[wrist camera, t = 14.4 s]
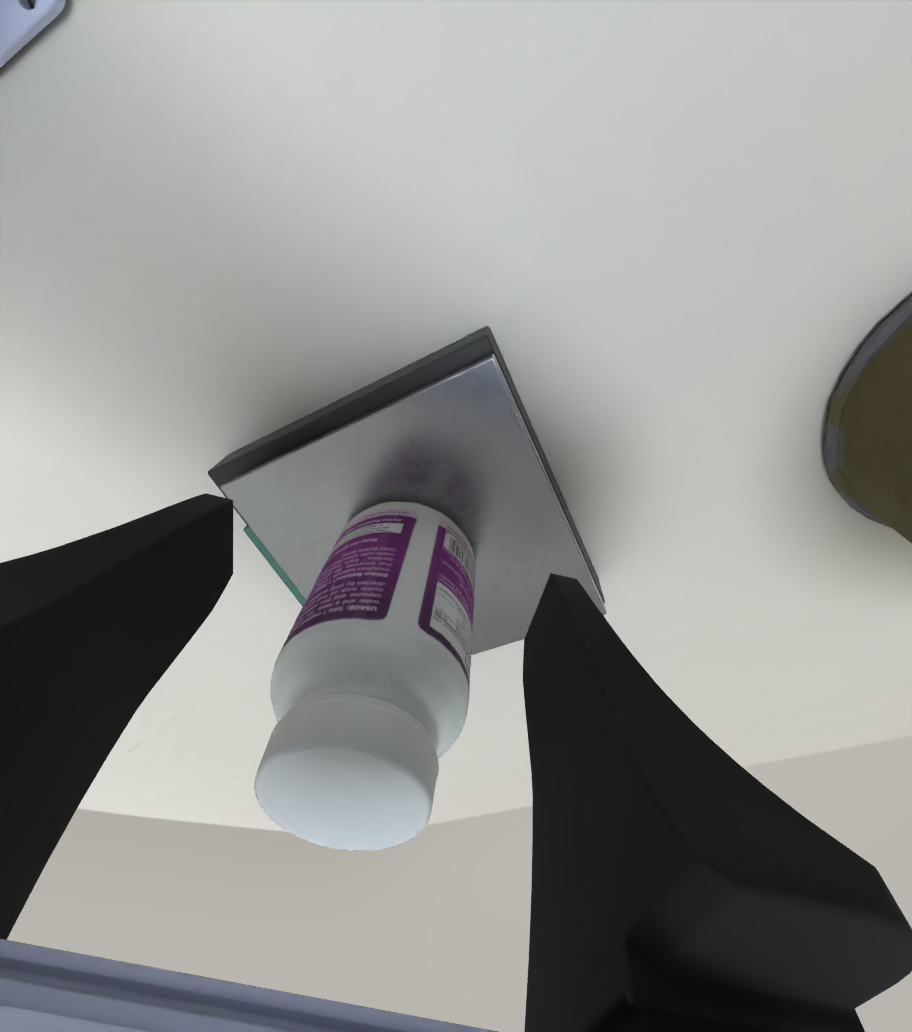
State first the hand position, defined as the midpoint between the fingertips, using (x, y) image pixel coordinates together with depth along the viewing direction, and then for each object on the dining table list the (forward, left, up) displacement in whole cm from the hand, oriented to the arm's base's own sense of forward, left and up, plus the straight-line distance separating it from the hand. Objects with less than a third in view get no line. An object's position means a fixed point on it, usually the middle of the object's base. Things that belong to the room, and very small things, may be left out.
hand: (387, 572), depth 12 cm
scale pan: (-2, -3, -7) cm, 8 cm away
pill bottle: (-3, -4, -7) cm, 8 cm away
